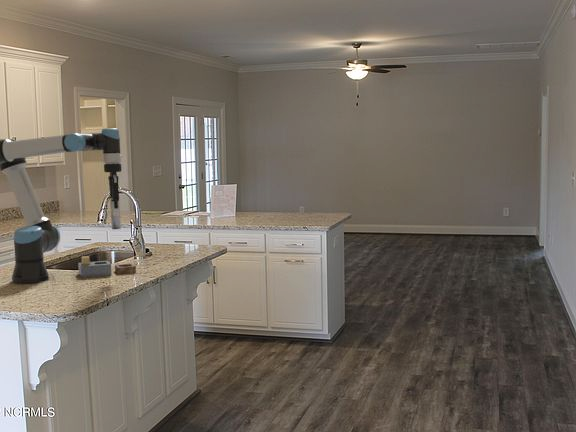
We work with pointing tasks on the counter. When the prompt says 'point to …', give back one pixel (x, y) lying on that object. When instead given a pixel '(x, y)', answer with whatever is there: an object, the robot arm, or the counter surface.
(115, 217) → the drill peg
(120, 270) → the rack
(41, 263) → the robot arm
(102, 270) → the chuck block
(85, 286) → the counter surface
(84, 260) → the tan rectangular block
